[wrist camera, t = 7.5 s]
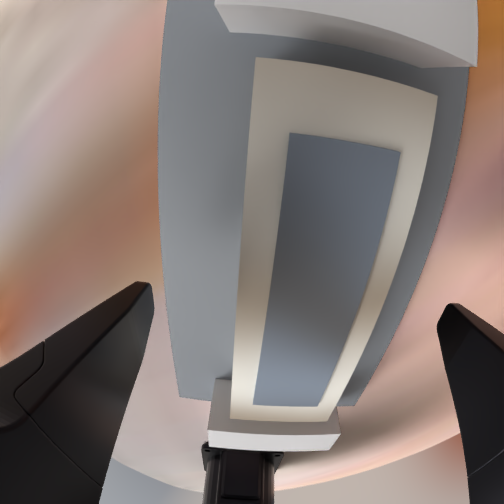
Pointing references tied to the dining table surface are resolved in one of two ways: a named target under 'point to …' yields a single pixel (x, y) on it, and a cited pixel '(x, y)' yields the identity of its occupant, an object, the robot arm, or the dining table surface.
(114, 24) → the dining table surface
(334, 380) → the frame
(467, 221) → the dining table surface
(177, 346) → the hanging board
